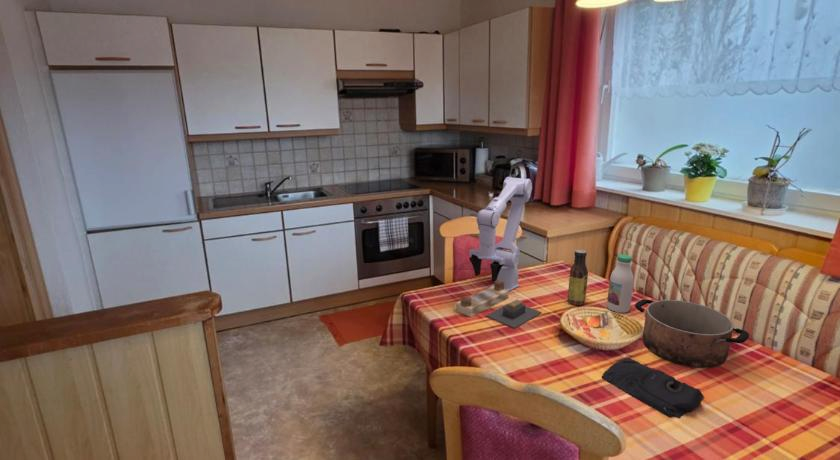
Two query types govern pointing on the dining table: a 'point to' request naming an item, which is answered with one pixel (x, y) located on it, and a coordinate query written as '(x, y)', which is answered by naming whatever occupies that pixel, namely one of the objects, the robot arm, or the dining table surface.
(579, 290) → the sauce bottle
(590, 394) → the dining table surface
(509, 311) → the lever cap
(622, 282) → the milk bottle
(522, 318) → the rubber mat
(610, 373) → the black flat holed part
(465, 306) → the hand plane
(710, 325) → the cooking pot
